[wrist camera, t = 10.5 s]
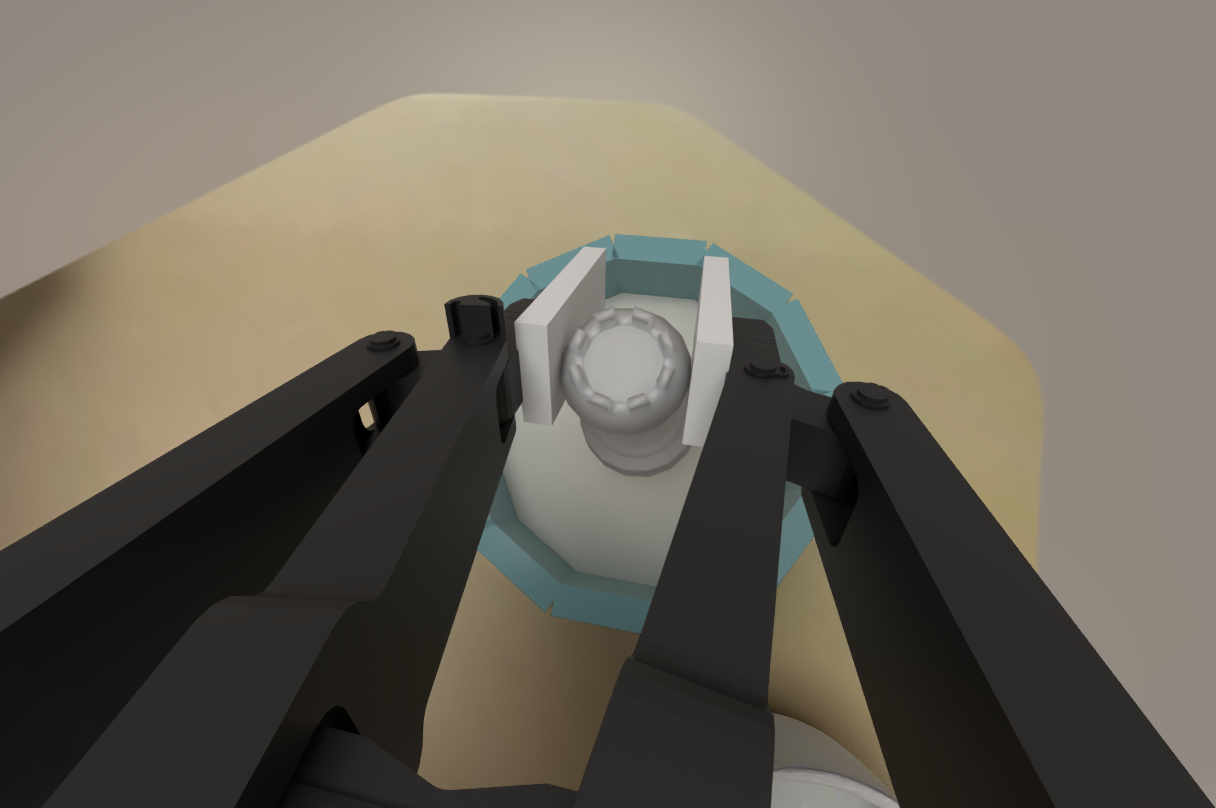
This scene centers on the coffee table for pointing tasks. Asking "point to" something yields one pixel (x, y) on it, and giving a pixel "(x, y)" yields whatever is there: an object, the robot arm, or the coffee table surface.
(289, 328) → the coffee table surface
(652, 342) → the rook chess piece
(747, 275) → the dish
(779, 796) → the teacup
